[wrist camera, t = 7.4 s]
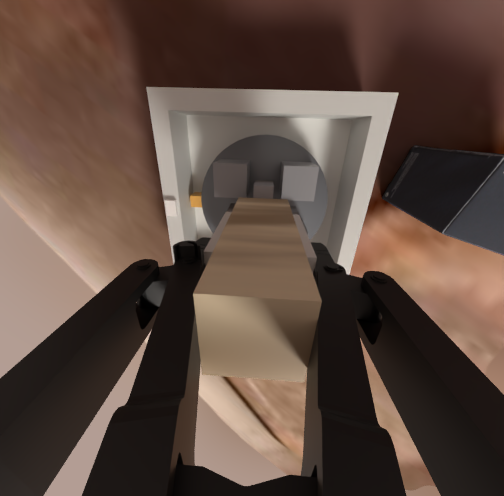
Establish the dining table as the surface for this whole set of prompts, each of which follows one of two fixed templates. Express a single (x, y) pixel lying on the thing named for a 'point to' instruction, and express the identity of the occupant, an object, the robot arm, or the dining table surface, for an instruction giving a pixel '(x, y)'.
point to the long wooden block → (257, 294)
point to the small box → (453, 193)
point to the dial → (264, 168)
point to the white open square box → (280, 124)
